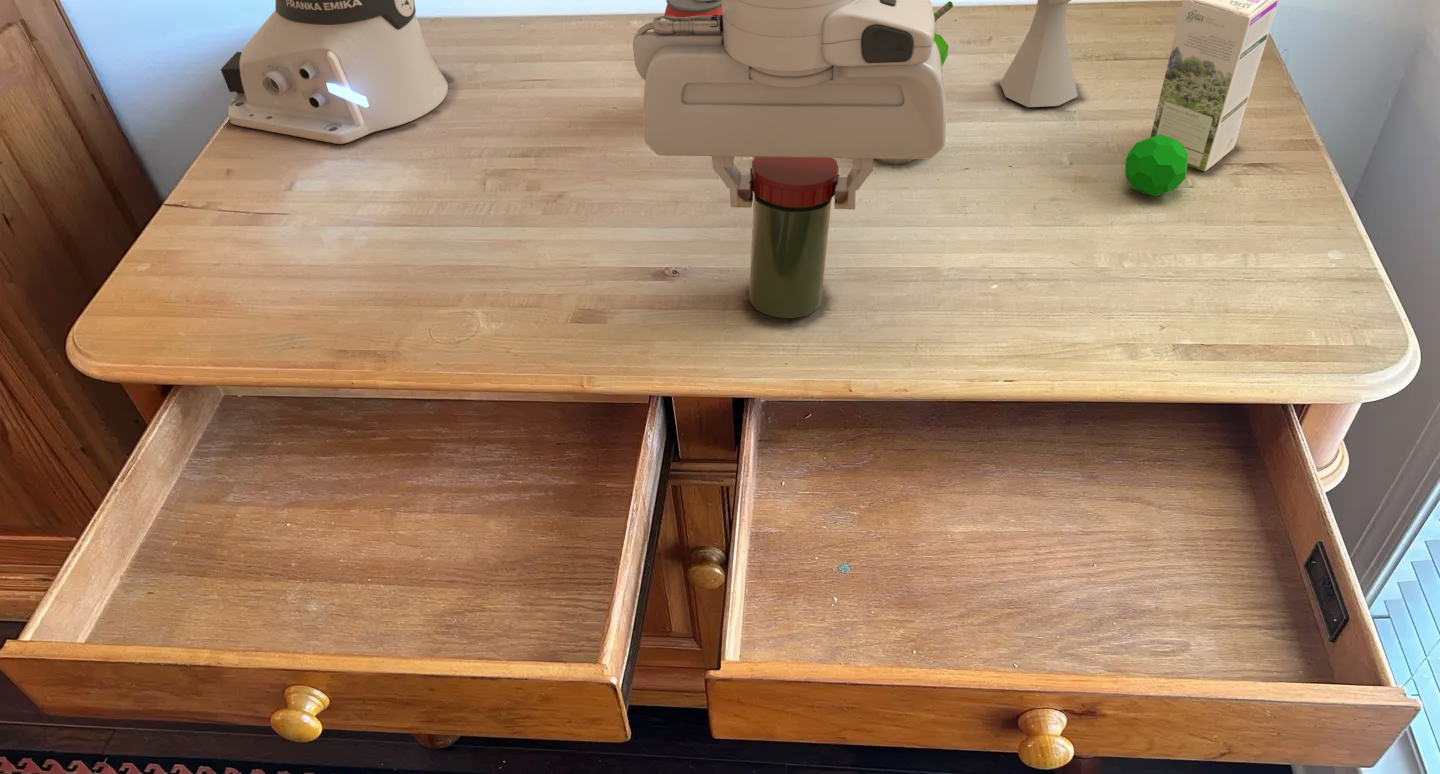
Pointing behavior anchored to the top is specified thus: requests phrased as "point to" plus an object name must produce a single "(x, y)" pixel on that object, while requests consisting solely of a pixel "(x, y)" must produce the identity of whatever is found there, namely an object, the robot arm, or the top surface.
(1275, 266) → the top surface
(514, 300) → the top surface
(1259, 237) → the top surface
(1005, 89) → the flask
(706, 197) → the top surface
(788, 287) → the jar
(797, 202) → the lid
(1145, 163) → the polyhedron
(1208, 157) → the syrup box
